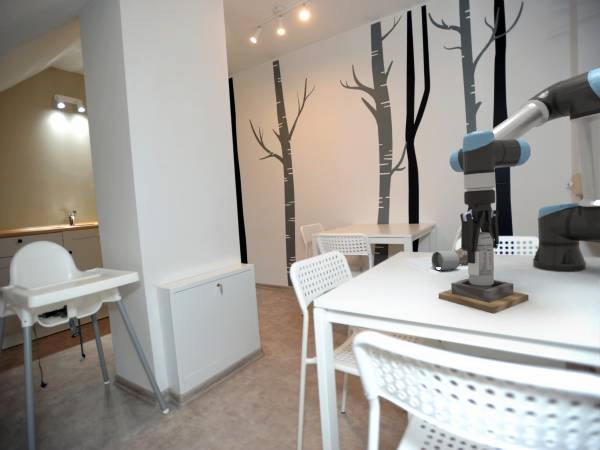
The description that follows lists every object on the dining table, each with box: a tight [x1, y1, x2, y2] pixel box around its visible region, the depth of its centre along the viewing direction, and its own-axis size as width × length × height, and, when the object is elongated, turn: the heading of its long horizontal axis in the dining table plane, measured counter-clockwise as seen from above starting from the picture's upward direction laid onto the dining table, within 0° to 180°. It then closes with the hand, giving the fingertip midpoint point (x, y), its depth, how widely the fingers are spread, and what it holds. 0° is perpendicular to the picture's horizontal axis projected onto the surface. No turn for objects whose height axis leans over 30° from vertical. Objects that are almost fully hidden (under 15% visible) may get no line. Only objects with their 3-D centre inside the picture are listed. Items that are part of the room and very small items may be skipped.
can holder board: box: [438, 277, 530, 314], centre depth 91 cm, size 16×16×4 cm
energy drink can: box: [468, 231, 495, 288], centre depth 90 cm, size 6×6×15 cm
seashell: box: [453, 247, 468, 265], centre depth 136 cm, size 14×9×10 cm
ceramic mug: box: [431, 250, 460, 272], centre depth 129 cm, size 11×8×8 cm
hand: (481, 272), depth 91 cm, fingers closed on energy drink can, 6 cm apart
